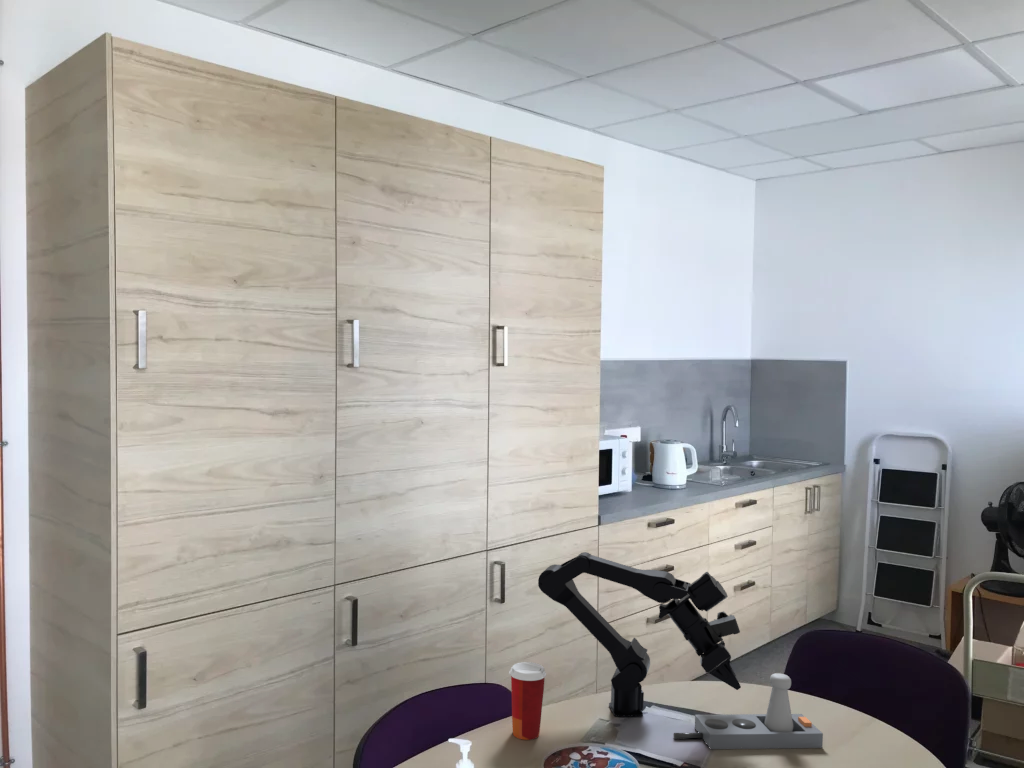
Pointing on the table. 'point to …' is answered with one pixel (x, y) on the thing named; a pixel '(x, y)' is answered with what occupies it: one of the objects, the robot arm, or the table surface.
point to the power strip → (752, 732)
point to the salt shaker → (779, 705)
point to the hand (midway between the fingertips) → (736, 682)
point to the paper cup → (527, 699)
